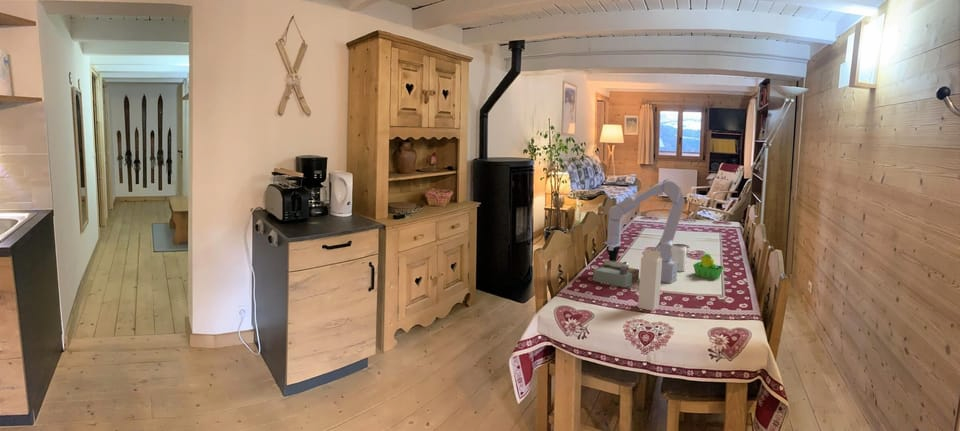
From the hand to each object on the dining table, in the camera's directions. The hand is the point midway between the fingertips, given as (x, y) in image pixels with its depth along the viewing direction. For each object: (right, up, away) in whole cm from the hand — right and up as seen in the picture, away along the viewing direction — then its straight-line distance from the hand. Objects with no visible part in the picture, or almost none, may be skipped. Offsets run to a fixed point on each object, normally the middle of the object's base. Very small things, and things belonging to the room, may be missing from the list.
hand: (612, 262), depth 248 cm
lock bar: (+1, -1, -4) cm, 4 cm away
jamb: (+2, -7, -4) cm, 8 cm away
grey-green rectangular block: (-2, -8, -9) cm, 12 cm away
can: (+33, -5, +12) cm, 36 cm away
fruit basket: (+43, -7, +2) cm, 44 cm away
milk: (+4, -14, -40) cm, 42 cm away
